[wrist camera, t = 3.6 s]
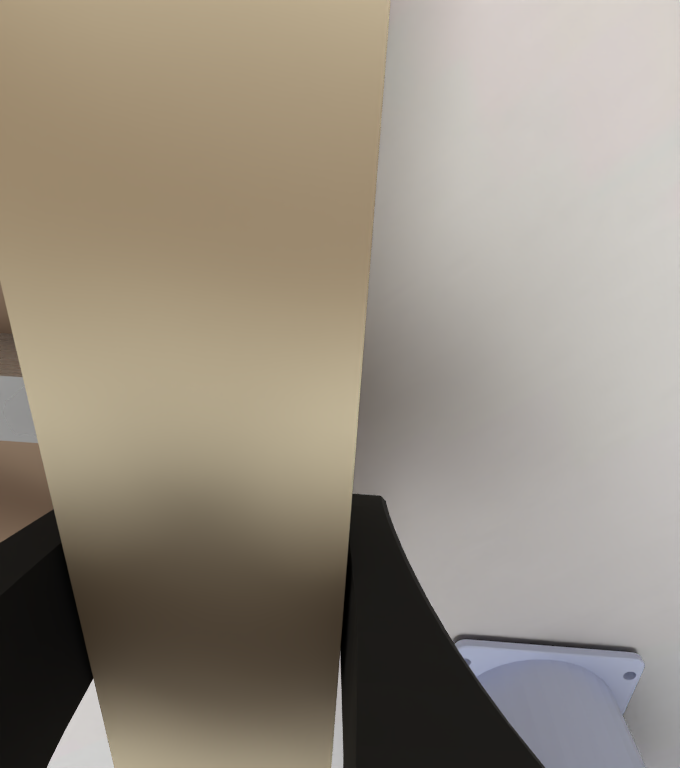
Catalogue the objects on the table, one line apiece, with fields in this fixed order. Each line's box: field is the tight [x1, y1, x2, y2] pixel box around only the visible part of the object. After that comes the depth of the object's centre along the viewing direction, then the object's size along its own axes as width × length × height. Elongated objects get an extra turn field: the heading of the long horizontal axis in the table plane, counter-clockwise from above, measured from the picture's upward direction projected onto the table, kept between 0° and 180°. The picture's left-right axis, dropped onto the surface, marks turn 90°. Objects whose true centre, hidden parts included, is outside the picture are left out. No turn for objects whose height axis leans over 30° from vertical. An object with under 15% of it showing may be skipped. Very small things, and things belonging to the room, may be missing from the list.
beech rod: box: [0, 0, 390, 768], centre depth 9 cm, size 24×4×4 cm, turn 177°
